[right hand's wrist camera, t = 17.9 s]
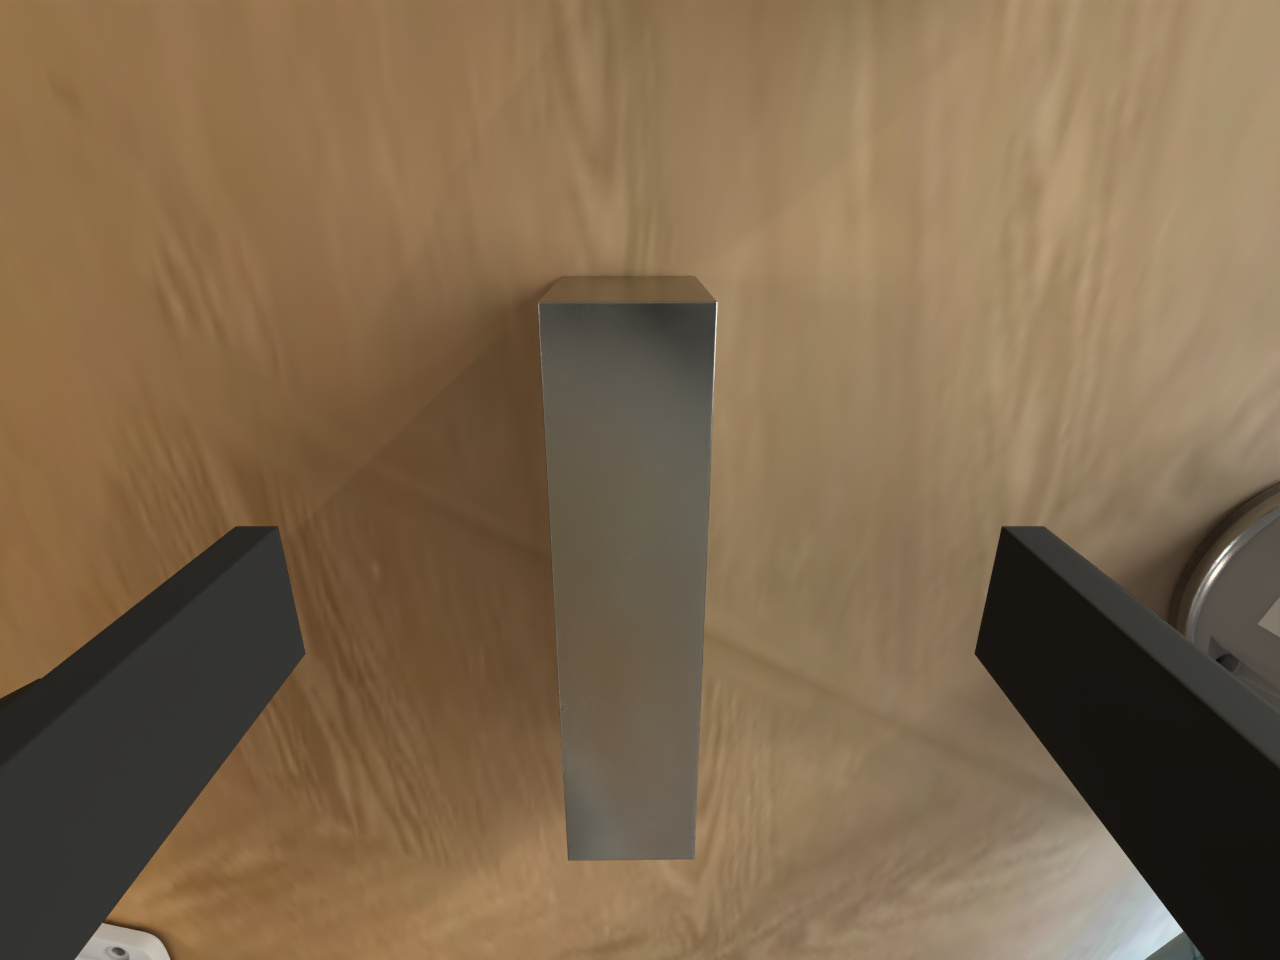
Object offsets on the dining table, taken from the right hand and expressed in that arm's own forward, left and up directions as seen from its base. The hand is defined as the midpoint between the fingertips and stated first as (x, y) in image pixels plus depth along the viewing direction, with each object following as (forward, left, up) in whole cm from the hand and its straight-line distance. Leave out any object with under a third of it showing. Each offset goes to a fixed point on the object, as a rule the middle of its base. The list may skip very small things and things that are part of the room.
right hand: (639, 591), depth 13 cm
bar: (-3, +9, -21) cm, 23 cm away
